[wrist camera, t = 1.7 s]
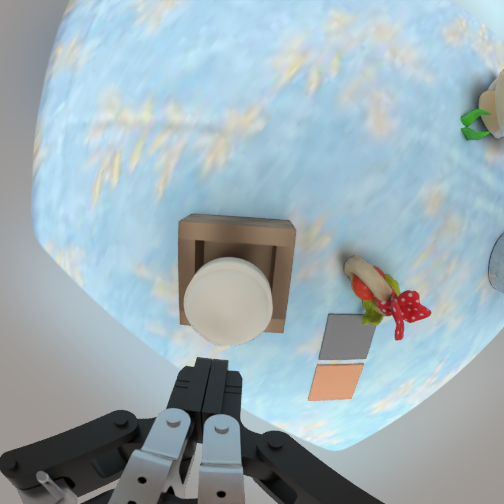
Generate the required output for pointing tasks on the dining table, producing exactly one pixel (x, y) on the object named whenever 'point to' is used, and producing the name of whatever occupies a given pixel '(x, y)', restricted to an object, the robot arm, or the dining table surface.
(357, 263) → the bird rattle
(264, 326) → the dome button
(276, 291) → the button frame
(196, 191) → the dining table surface
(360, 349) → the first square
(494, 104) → the kitten
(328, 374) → the tile
